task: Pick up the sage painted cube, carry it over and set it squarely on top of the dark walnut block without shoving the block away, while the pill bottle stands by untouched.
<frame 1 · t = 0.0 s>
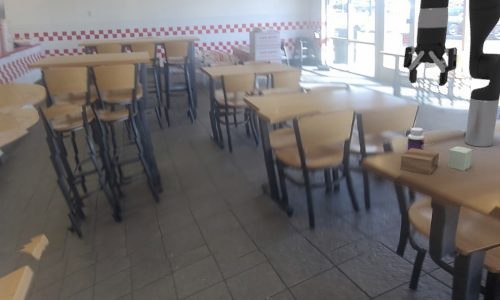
hand: (427, 84, 117), 29 cm above the table, fingers open, 8 cm apart
pill bottle: (414, 155, 146), on the table
sage cube: (459, 166, 133), on the table
walnut block: (419, 168, 135), on the table
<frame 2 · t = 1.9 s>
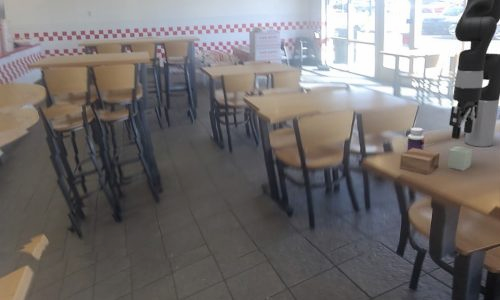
hand: (461, 135, 130), 11 cm above the table, fingers open, 8 cm apart
nothing on the table moved.
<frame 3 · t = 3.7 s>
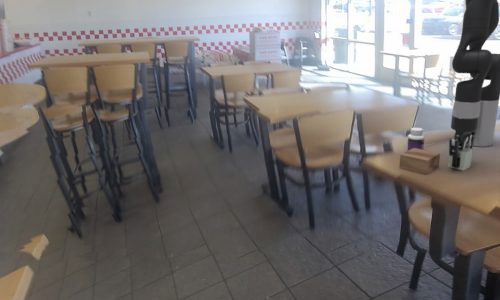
hand: (459, 164, 133), 1 cm above the table, fingers closed on sage cube, 5 cm apart
sage cube: (459, 166, 133), on the table, touching gripper
everything else where it was.
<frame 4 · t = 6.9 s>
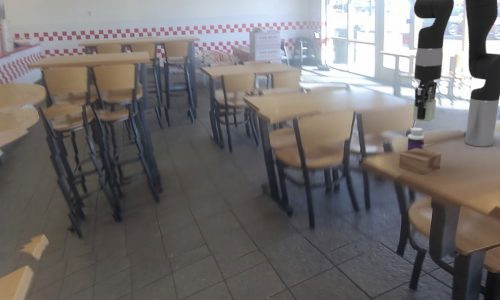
hand: (423, 117, 129), 17 cm above the table, fingers closed on sage cube, 5 cm apart
sage cube: (423, 119, 129), point 17 cm above the table, touching gripper
everything else where it was.
when the fingers open (7 cm above the table, at t = 10.3 s): sage cube drops 2 cm, resting on walnut block.
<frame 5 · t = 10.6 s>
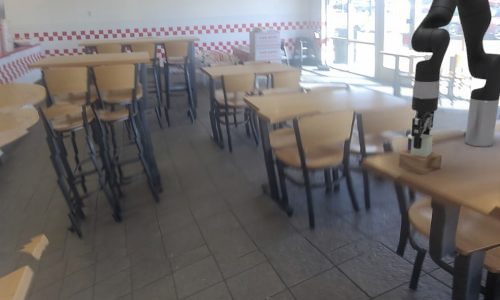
hand: (421, 144, 132), 8 cm above the table, fingers open, 7 cm apart
sage cube: (420, 153, 133), point 5 cm above the table, touching walnut block
walnut block: (419, 168, 135), on the table, touching sage cube
everything else where it was.
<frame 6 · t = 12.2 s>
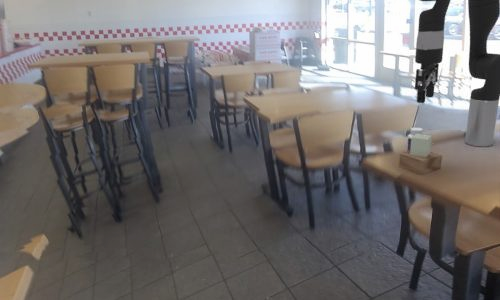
hand: (425, 99, 127), 23 cm above the table, fingers open, 8 cm apart
nothing on the table moved.
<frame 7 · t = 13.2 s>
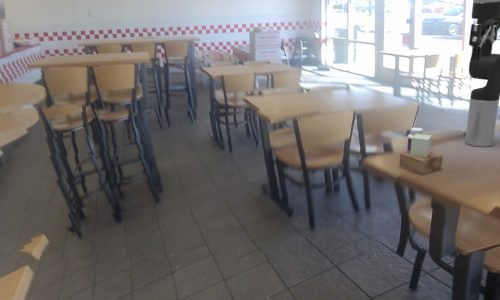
hand: (481, 58, 121), 35 cm above the table, fingers open, 8 cm apart
nothing on the table moved.
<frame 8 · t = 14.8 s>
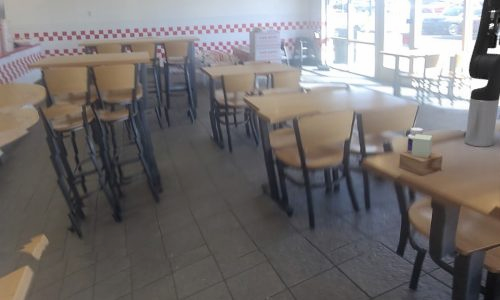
hand: (497, 46, 120), 38 cm above the table, fingers open, 8 cm apart
nothing on the table moved.
at the end: sage cube inside the target area on the walnut block (0.4 cm from its centre), point 5.0 cm above the walnut block's base; sage cube tilted 0°; walnut block moved 0.9 cm from its start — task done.
